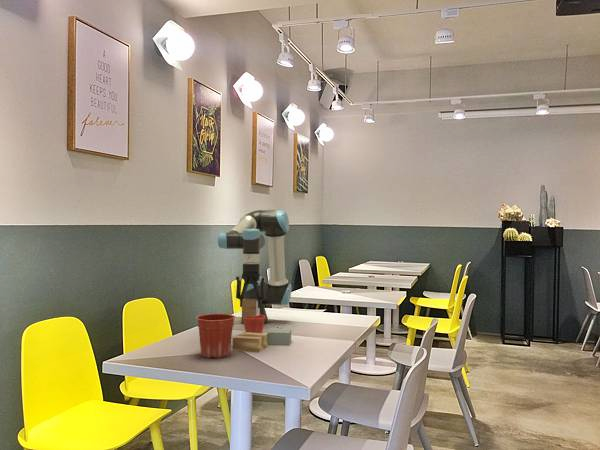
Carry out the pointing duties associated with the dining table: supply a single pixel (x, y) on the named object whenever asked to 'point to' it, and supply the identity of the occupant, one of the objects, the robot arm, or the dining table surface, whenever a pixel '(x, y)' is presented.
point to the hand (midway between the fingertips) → (250, 314)
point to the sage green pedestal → (279, 336)
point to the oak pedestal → (250, 342)
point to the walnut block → (249, 308)
